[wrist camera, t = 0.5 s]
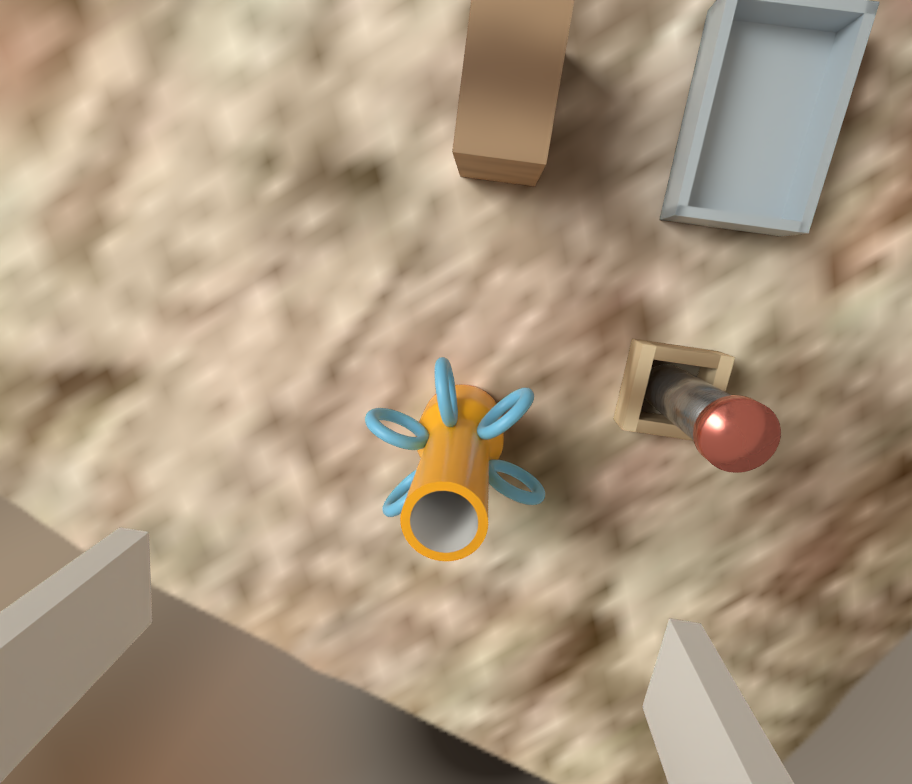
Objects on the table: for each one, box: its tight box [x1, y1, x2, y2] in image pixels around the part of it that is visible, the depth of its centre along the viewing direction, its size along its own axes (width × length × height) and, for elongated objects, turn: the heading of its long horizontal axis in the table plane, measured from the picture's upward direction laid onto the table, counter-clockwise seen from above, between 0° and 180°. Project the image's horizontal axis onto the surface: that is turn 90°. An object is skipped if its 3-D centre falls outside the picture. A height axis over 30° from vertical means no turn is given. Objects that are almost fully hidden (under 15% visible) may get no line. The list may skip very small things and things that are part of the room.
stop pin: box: [644, 364, 781, 473], centre depth 29 cm, size 4×4×11 cm
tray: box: [660, 0, 879, 236], centre depth 29 cm, size 12×8×3 cm, turn 172°
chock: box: [452, 0, 574, 186], centre depth 28 cm, size 8×5×7 cm, turn 172°
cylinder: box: [365, 357, 545, 561], centre depth 29 cm, size 12×10×15 cm
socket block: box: [614, 339, 735, 441], centre depth 34 cm, size 6×6×2 cm
